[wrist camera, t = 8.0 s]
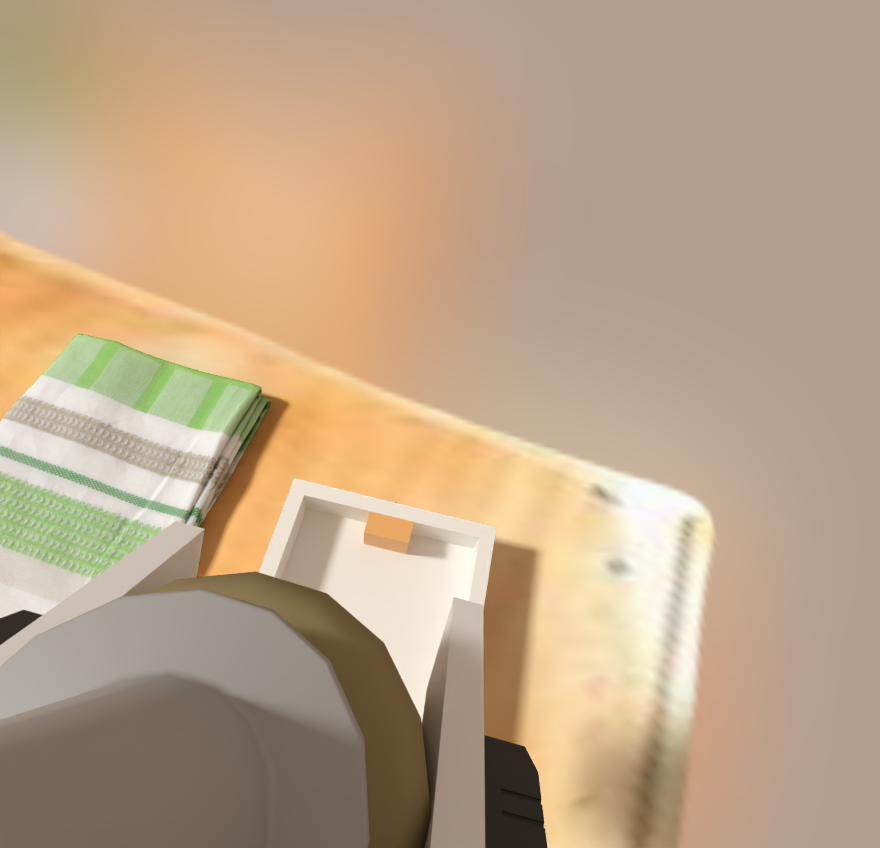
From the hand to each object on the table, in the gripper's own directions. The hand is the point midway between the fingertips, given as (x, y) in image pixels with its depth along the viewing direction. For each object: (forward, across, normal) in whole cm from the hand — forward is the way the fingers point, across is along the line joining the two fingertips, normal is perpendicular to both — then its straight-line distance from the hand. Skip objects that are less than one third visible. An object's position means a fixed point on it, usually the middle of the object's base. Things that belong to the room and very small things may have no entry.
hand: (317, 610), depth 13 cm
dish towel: (+22, -21, -11) cm, 32 cm away
